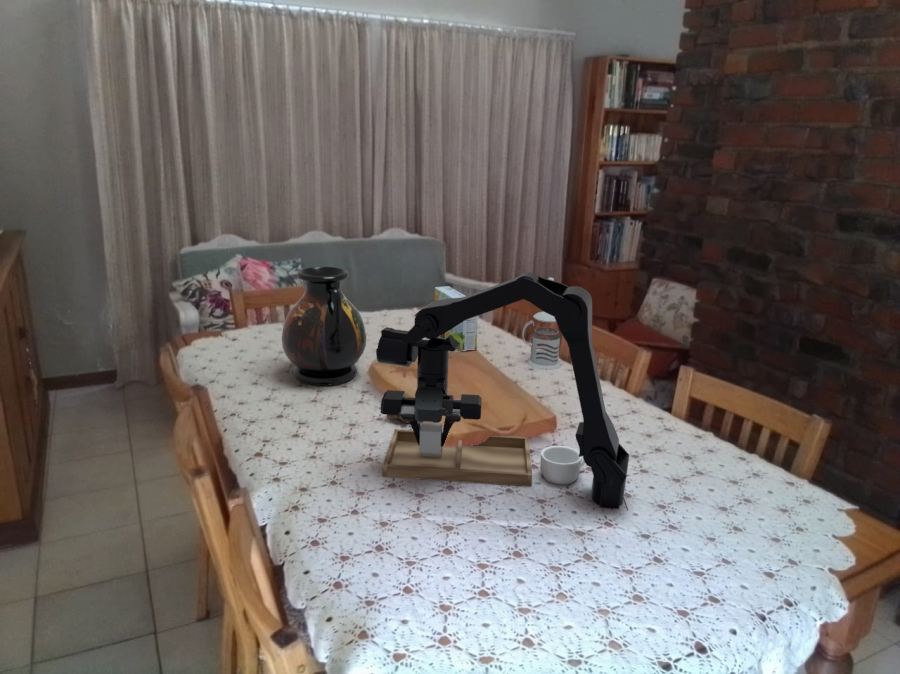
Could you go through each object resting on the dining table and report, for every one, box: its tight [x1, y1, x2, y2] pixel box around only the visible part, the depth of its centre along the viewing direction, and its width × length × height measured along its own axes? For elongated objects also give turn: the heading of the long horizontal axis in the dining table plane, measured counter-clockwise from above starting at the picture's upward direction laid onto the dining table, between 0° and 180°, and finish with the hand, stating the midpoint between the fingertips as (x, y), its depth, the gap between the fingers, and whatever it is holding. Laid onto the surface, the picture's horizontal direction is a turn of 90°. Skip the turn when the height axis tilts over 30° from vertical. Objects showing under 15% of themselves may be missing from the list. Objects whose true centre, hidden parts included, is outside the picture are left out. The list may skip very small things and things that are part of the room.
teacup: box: [540, 445, 586, 485], centre depth 131 cm, size 10×8×5 cm
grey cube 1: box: [422, 427, 443, 458], centre depth 138 cm, size 4×4×4 cm
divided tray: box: [382, 428, 533, 487], centre depth 135 cm, size 16×28×3 cm, turn 86°
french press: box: [521, 277, 562, 370], centre depth 190 cm, size 10×12×25 cm
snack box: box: [434, 285, 479, 352], centre depth 209 cm, size 21×6×15 cm, turn 25°
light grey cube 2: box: [419, 421, 444, 454], centre depth 131 cm, size 4×4×4 cm
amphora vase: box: [281, 266, 367, 386], centre depth 175 cm, size 22×22×28 cm
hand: (430, 445), depth 131 cm, fingers closed on light grey cube 2, 4 cm apart
